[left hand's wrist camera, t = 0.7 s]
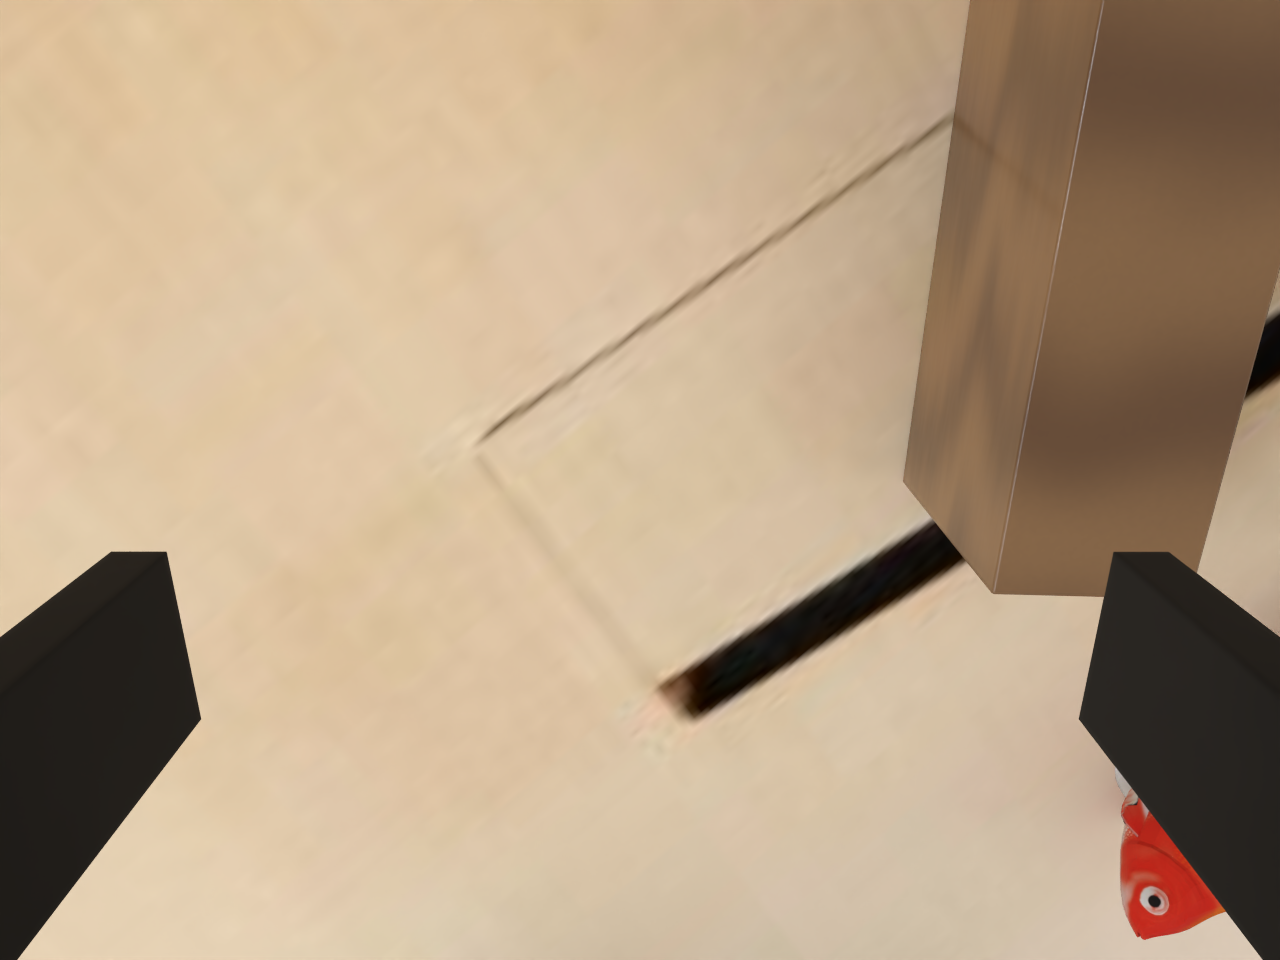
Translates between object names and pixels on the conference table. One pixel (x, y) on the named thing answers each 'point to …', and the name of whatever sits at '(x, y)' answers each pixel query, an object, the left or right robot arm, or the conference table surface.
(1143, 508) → the box
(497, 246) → the conference table surface
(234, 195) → the conference table surface
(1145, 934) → the fish
